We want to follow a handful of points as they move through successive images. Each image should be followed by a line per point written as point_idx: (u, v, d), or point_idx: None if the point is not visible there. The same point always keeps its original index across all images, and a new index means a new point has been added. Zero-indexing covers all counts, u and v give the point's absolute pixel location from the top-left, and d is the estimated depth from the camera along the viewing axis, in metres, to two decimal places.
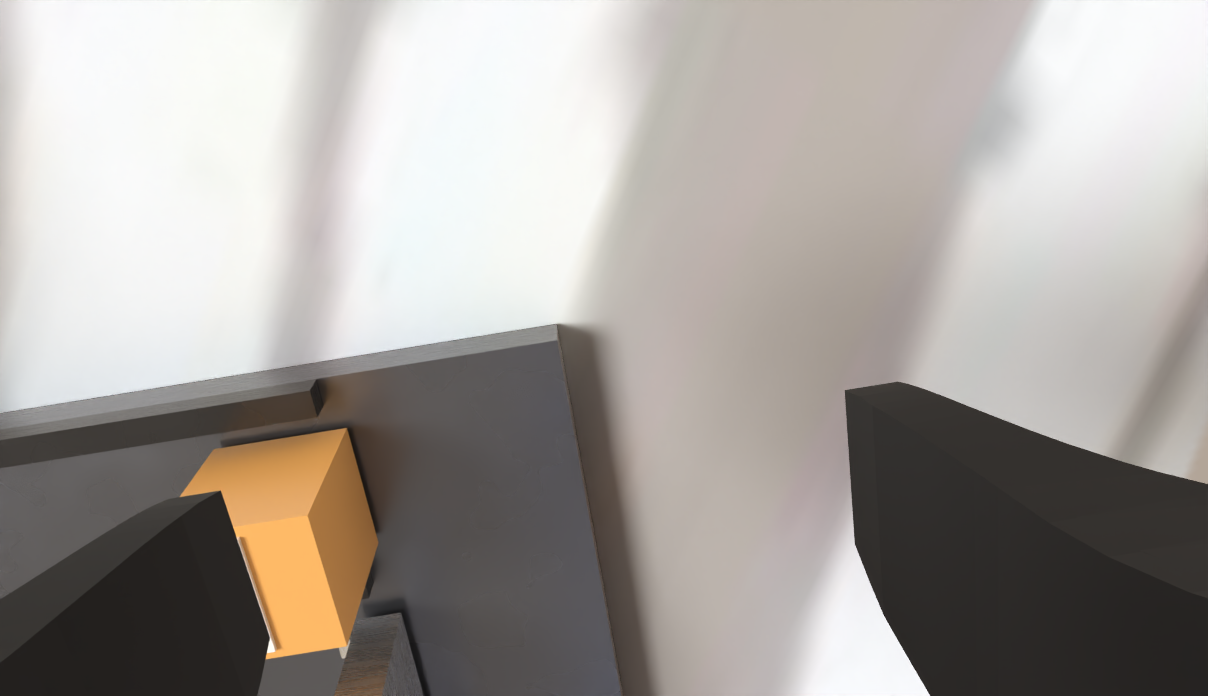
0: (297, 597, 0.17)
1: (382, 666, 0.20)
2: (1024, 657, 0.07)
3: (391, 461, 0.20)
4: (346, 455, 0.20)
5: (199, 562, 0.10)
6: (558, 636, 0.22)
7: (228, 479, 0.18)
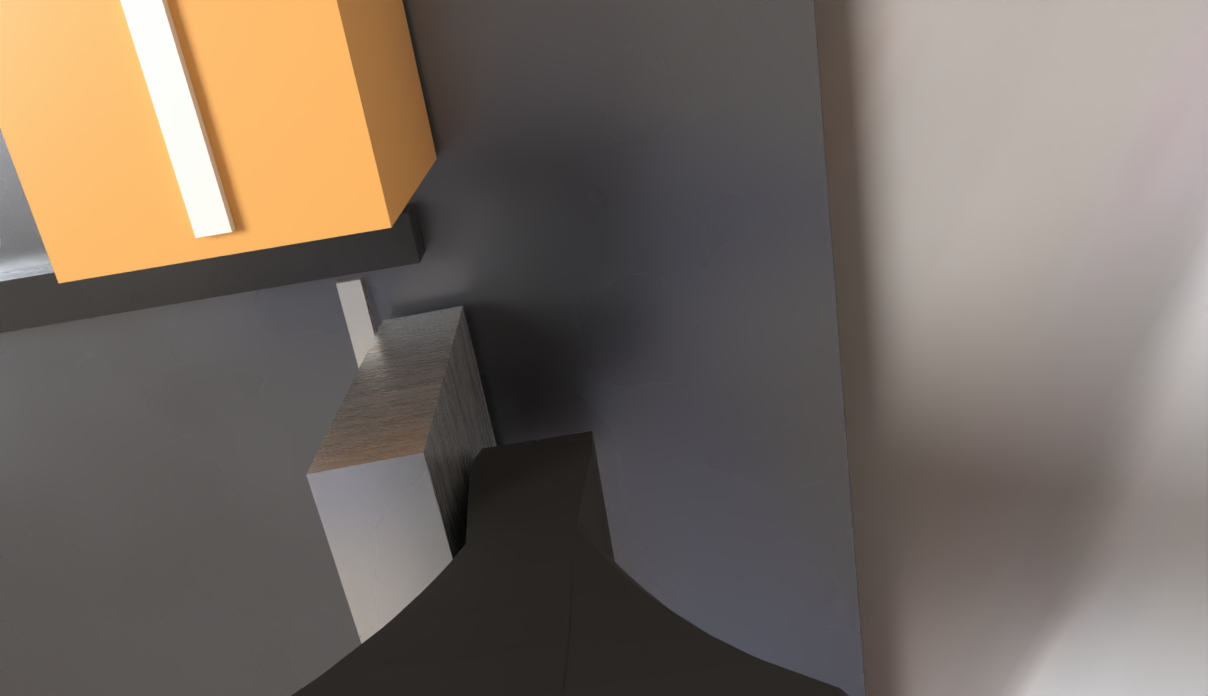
0: (279, 93, 0.08)
1: (436, 359, 0.10)
2: None
3: None
4: None
5: (600, 498, 0.10)
6: (750, 365, 0.13)
7: None
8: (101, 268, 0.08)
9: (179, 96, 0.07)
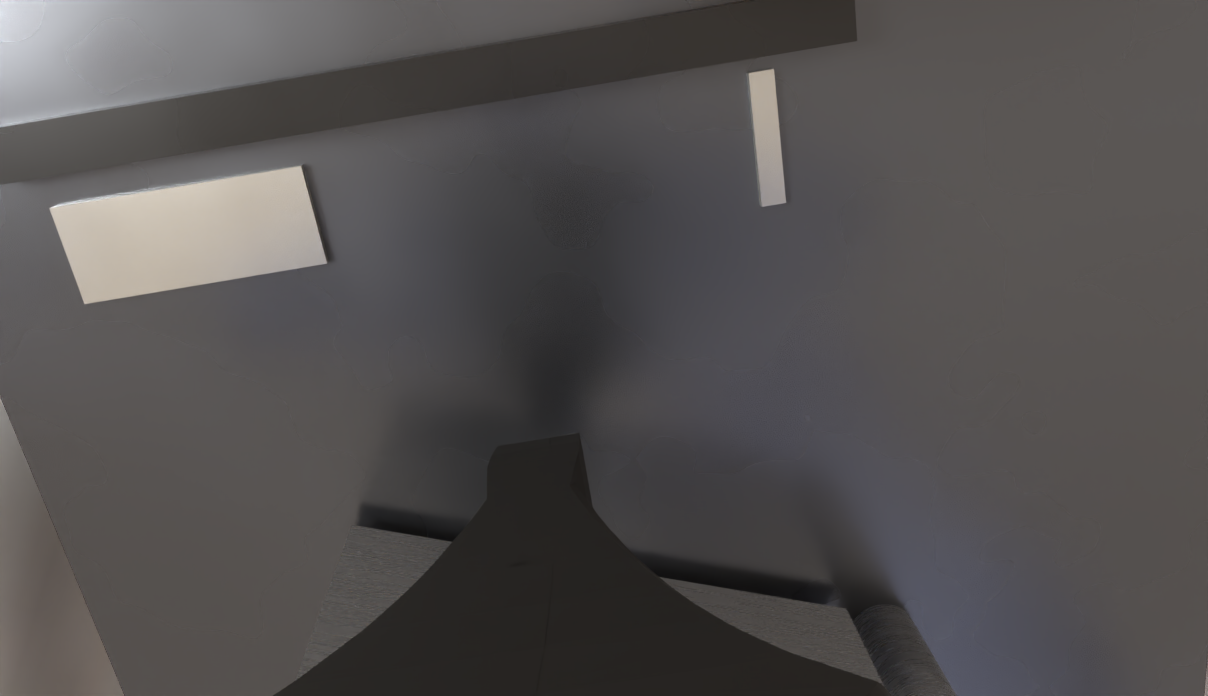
0: None
1: (321, 613, 0.11)
2: None
3: None
4: None
5: (586, 500, 0.10)
6: (1154, 173, 0.12)
7: None
8: None
9: None
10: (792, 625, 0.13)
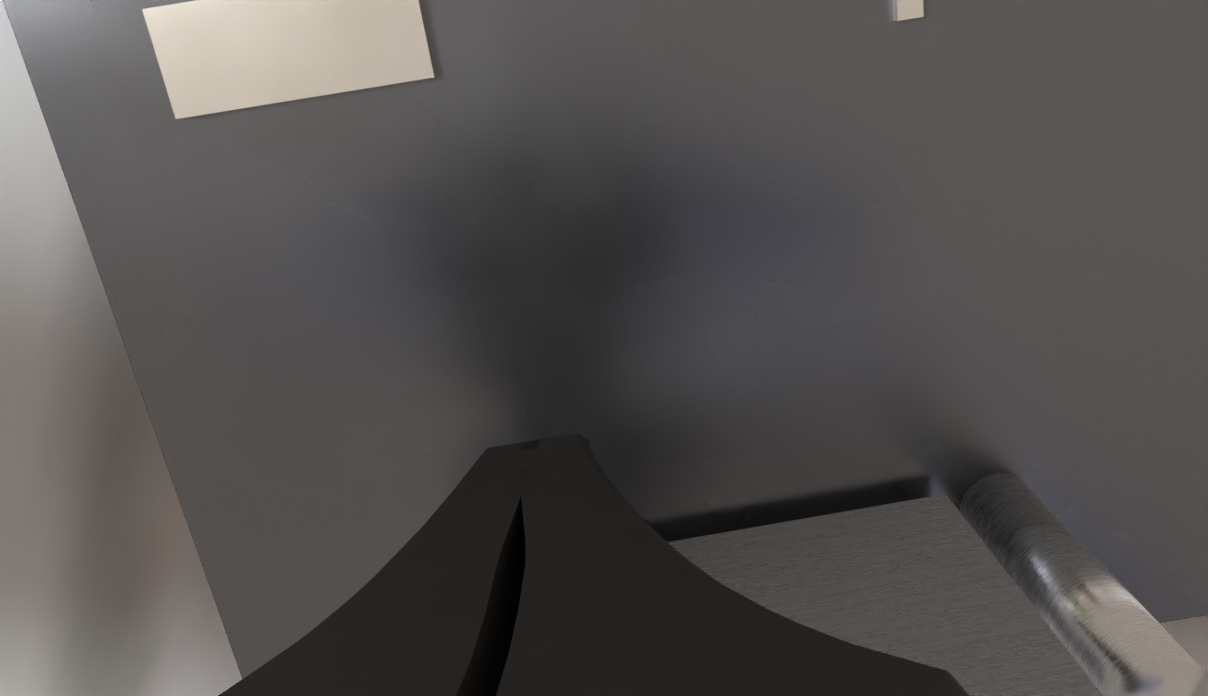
0: None
1: None
2: None
3: None
4: None
5: None
6: None
7: None
8: None
9: None
10: (890, 530, 0.12)
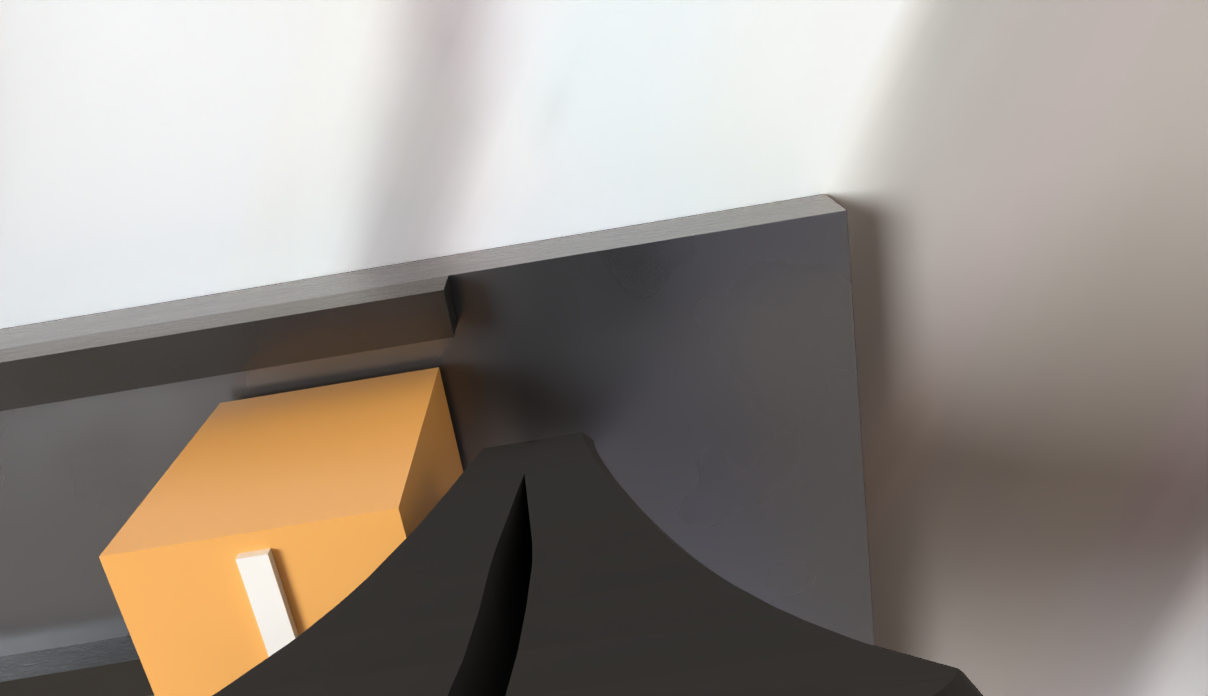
0: None
1: None
2: None
3: (561, 414, 0.13)
4: (441, 411, 0.12)
5: None
6: None
7: (246, 448, 0.11)
8: None
9: None
10: None
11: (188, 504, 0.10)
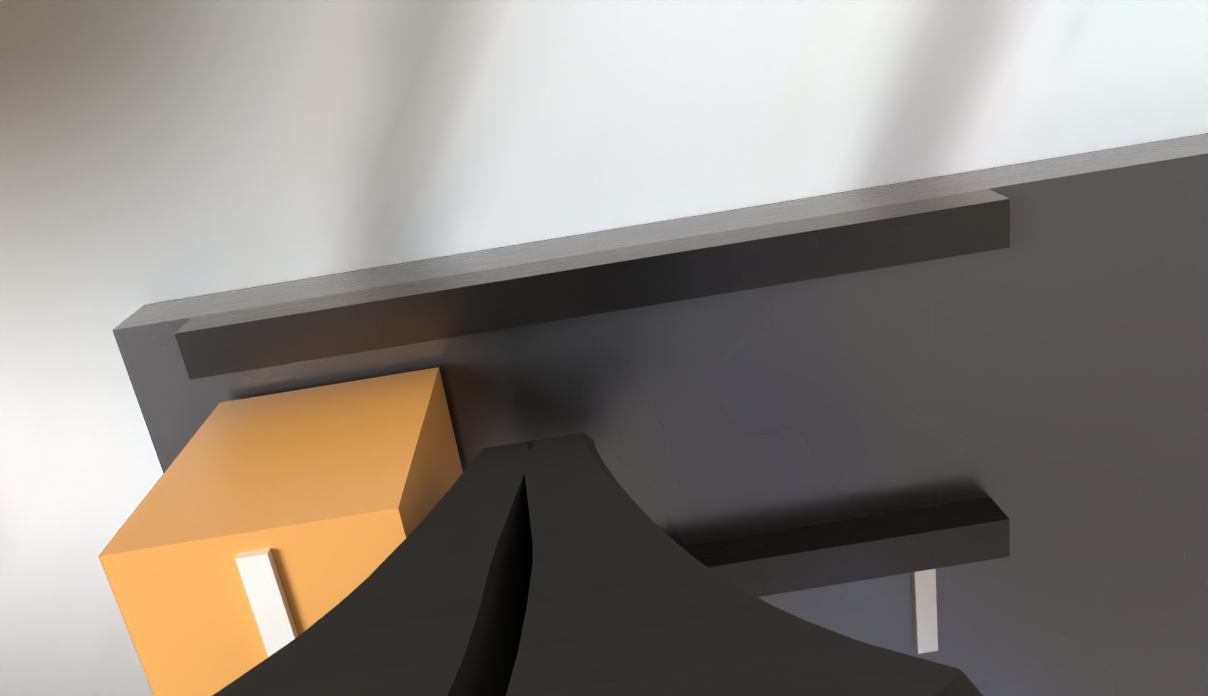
0: None
1: None
2: None
3: (1069, 332, 0.13)
4: (440, 411, 0.12)
5: None
6: None
7: (246, 447, 0.11)
8: None
9: None
10: None
11: (188, 503, 0.10)
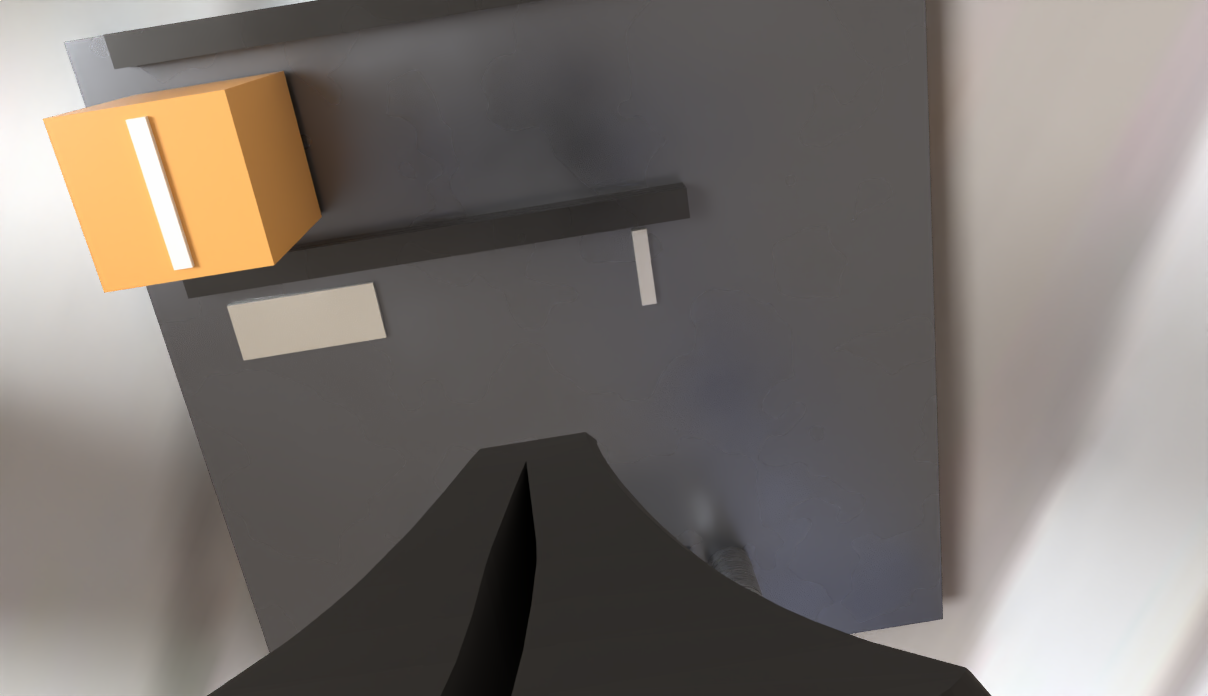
0: (215, 198, 0.15)
1: None
2: None
3: (723, 55, 0.18)
4: (282, 94, 0.18)
5: None
6: (877, 285, 0.20)
7: (145, 96, 0.16)
8: (126, 285, 0.16)
9: (166, 200, 0.15)
10: None
11: (101, 107, 0.15)
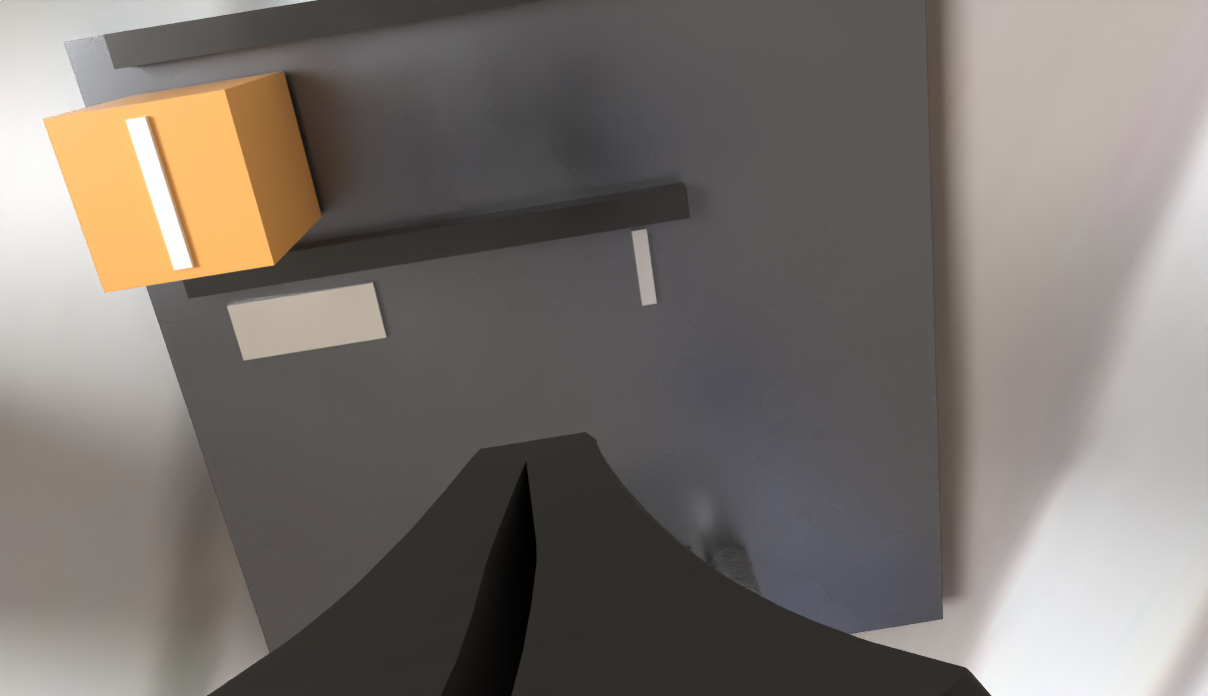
0: (215, 198, 0.15)
1: None
2: None
3: (723, 55, 0.18)
4: (282, 94, 0.18)
5: None
6: (877, 285, 0.20)
7: (145, 96, 0.16)
8: (126, 285, 0.16)
9: (166, 200, 0.15)
10: None
11: (101, 107, 0.15)
